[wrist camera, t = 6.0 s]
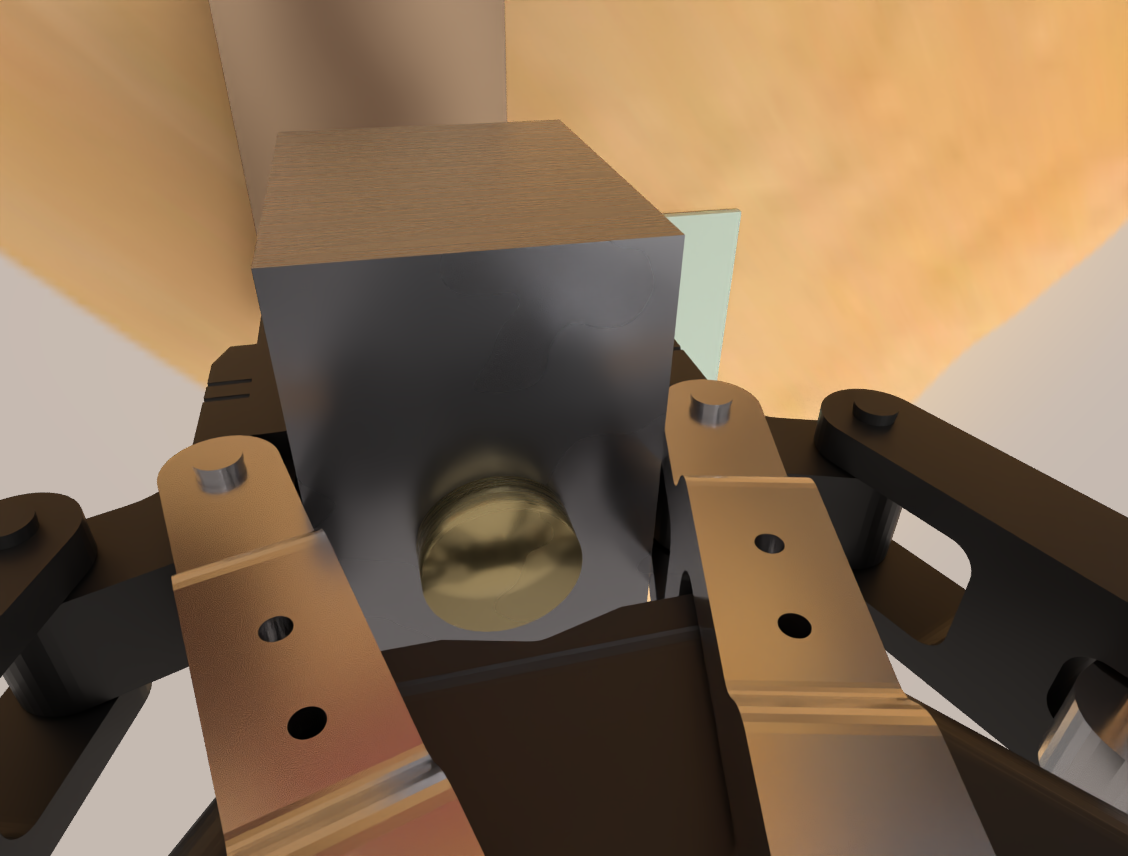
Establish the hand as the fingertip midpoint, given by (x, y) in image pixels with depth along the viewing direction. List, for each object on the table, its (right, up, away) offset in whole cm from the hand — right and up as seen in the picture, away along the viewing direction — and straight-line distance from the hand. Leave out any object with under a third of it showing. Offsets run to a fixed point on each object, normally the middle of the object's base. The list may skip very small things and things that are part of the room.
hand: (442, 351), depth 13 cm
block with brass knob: (0, 0, 0) cm, 0 cm away
